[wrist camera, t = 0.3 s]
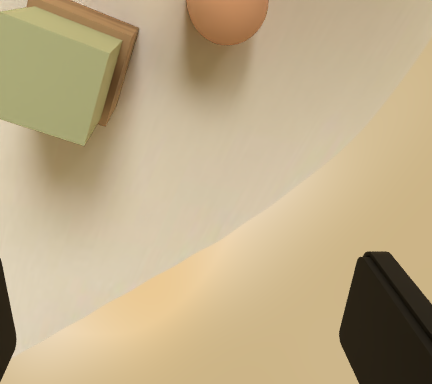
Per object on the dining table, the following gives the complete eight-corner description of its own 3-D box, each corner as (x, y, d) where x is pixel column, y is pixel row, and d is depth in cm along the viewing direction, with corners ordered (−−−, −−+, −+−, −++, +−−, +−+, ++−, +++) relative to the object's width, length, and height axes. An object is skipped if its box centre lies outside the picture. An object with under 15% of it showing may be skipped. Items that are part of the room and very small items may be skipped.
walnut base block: (53, -7, 33) (28, -5, 27) (139, 28, 34) (131, 36, 29) (36, 77, 35) (10, 94, 30) (116, 105, 37) (105, 126, 32)
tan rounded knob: (200, -53, 32) (205, -60, 27) (265, -22, 33) (282, -24, 28) (176, 20, 34) (176, 27, 29) (238, 46, 35) (248, 57, 30)
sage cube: (34, 6, 28) (-1, 11, 22) (122, 40, 29) (109, 53, 24) (18, 90, 30) (-17, 113, 25) (100, 118, 31) (84, 146, 26)
